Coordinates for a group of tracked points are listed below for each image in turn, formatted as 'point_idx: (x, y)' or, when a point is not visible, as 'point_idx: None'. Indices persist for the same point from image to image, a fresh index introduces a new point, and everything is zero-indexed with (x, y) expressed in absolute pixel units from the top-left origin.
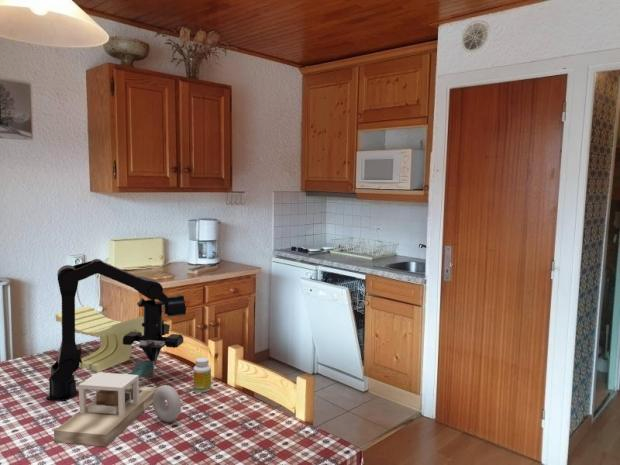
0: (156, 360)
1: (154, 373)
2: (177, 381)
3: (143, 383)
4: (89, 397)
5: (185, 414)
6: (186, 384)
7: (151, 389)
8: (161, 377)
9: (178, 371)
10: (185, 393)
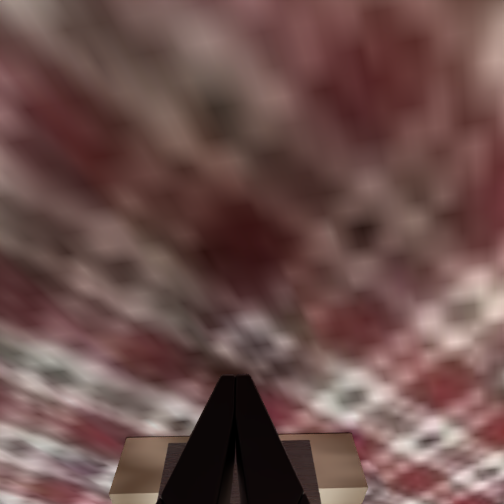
0: (267, 416)
1: (314, 470)
2: (416, 260)
3: (188, 321)
4: (37, 469)
5: (486, 500)
6: (486, 294)
7: (337, 501)
8: (266, 208)
9: (387, 20)
10: (482, 388)
